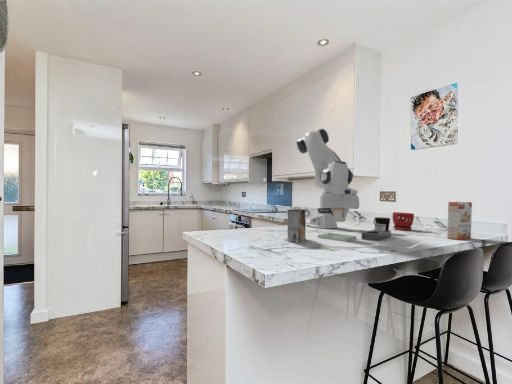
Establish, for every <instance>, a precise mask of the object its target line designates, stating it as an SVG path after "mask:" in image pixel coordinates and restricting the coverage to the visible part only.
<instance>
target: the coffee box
mask: <svg viewBox="0 0 512 384" xmlns="http://www.w3.org/2000/svg"><path fill="white" fill-rule="evenodd" d="M306 214H307V213H306V209H303V208H302V209H301V208H297V209H296V208H293V209H287V241H288V242H290V241H297V242H296V243H301V242H303V241H304V240H306V227H307V224H306V216H307V215H306ZM300 241H301V242H300Z"/></svg>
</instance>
